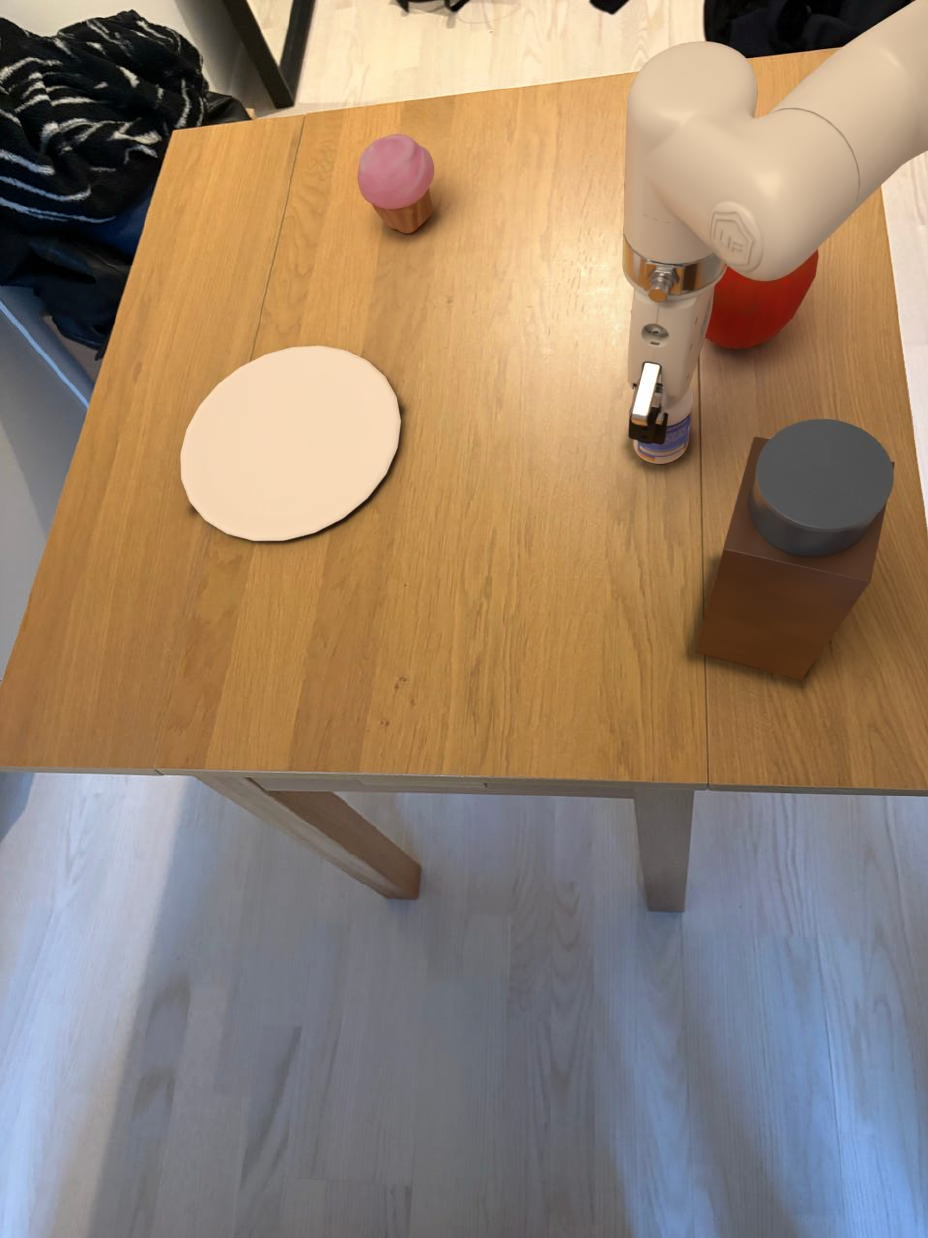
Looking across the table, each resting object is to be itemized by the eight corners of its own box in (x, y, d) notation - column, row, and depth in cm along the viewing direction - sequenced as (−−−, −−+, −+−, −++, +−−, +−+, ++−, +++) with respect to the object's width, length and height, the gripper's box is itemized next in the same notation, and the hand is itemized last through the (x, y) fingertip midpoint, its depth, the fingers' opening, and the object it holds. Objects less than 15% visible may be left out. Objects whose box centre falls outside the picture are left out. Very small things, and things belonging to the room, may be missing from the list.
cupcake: (457, 206, 96) (441, 128, 86) (417, 257, 94) (396, 183, 84) (399, 186, 99) (377, 109, 90) (359, 235, 97) (332, 161, 88)
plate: (369, 321, 91) (366, 313, 90) (431, 494, 81) (428, 488, 80) (168, 398, 92) (163, 391, 91) (204, 579, 82) (198, 574, 81)
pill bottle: (698, 451, 77) (708, 387, 68) (647, 474, 77) (651, 413, 68) (672, 411, 80) (679, 344, 71) (622, 433, 80) (623, 368, 71)
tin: (884, 467, 52) (904, 431, 48) (862, 571, 49) (881, 541, 46) (761, 444, 54) (771, 408, 50) (734, 543, 52) (743, 512, 48)
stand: (822, 587, 70) (895, 461, 52) (801, 680, 67) (870, 582, 49) (719, 563, 73) (754, 435, 54) (694, 652, 70) (723, 549, 52)
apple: (745, 266, 85) (768, 145, 72) (825, 333, 80) (865, 216, 67) (651, 327, 84) (658, 215, 71) (726, 398, 79) (748, 292, 66)
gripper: (699, 349, 53) (677, 484, 68) (757, 162, 58) (725, 327, 74) (590, 331, 55) (593, 466, 71) (656, 152, 60) (645, 314, 76)
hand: (661, 394), depth 72 cm, fingers open, 9 cm apart
